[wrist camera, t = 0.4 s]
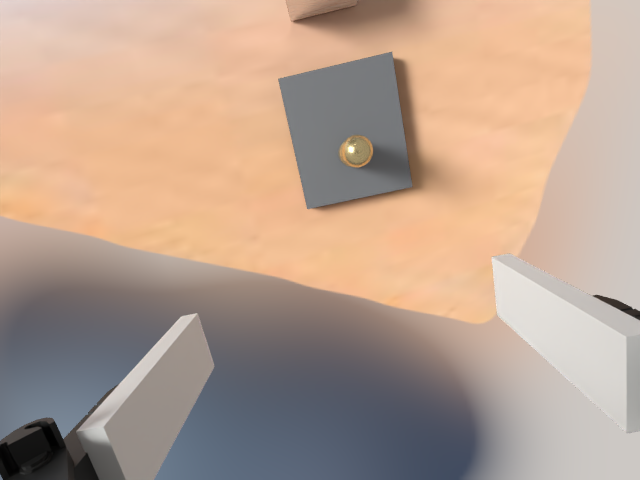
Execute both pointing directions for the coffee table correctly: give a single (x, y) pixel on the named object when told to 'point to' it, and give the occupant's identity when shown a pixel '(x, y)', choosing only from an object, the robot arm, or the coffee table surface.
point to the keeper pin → (355, 151)
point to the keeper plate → (347, 129)
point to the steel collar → (315, 7)
